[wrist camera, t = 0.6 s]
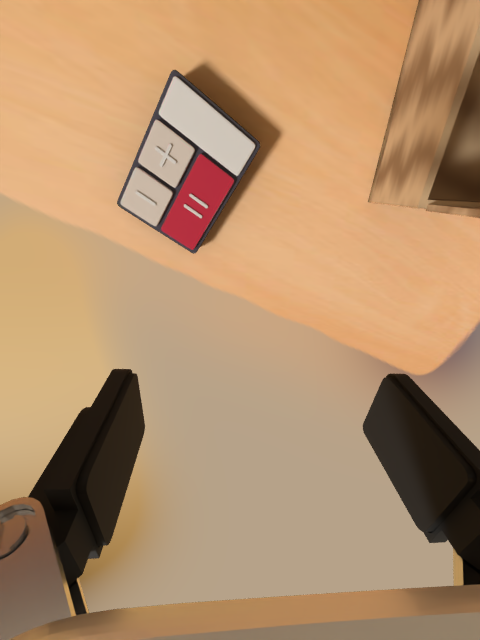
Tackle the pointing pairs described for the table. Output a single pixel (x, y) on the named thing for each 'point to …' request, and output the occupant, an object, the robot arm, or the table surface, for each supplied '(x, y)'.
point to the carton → (435, 115)
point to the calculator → (186, 165)
